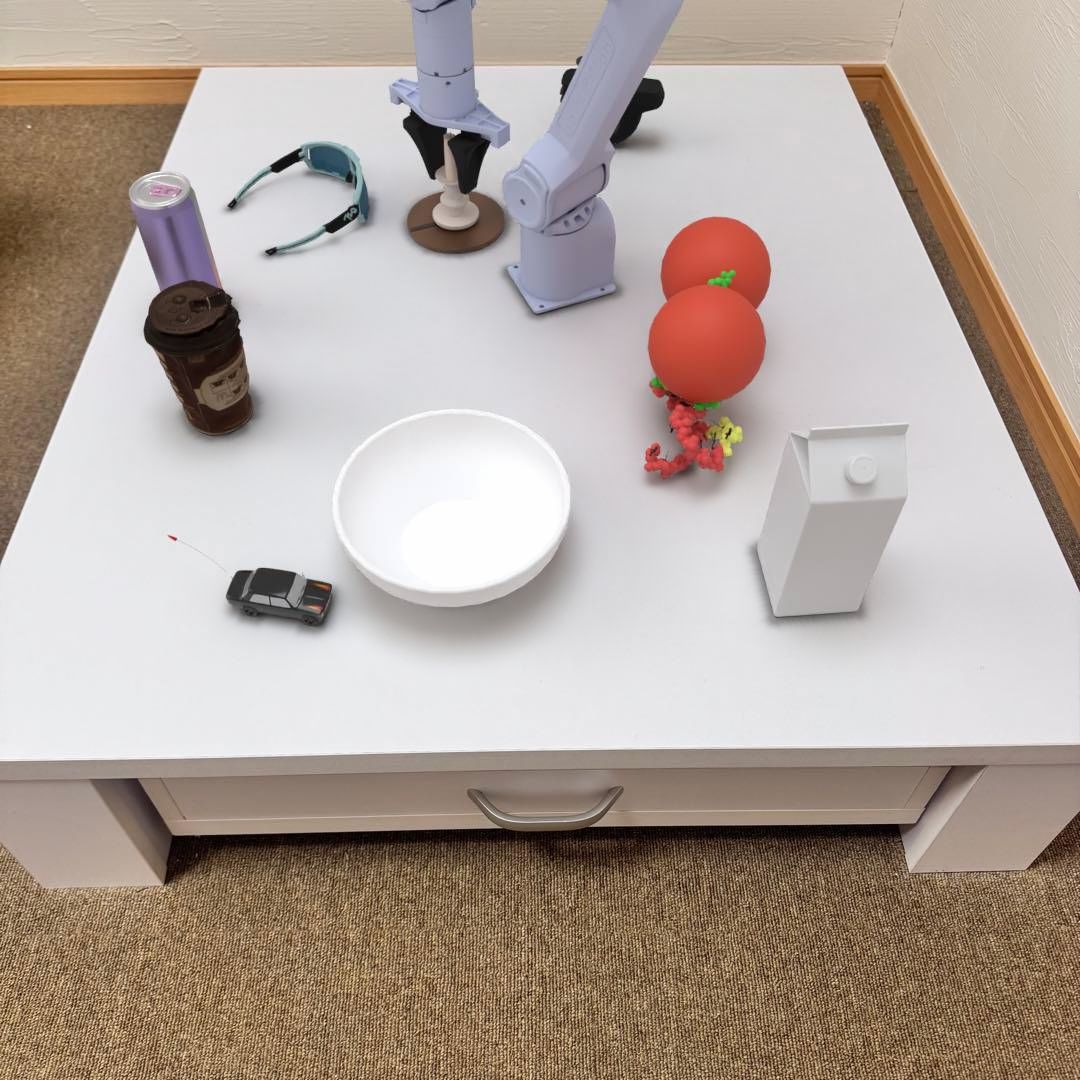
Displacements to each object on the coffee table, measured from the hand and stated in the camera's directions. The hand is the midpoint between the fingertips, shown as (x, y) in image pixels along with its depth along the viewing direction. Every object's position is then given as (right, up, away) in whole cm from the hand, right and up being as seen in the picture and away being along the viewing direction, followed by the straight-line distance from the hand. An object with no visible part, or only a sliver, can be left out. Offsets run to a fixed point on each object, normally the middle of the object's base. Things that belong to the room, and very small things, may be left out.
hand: (453, 182), depth 116 cm
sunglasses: (-17, -1, +6) cm, 18 cm away
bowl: (+2, -40, -23) cm, 46 cm away
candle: (0, -3, +4) cm, 5 cm away
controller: (+18, +10, +14) cm, 25 cm away
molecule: (+25, -25, -12) cm, 37 cm away
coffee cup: (-21, -27, -14) cm, 37 cm away
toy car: (-14, -44, -27) cm, 54 cm away
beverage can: (-26, -16, -5) cm, 31 cm away
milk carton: (+32, -43, -25) cm, 59 cm away
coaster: (0, -3, +4) cm, 5 cm away
